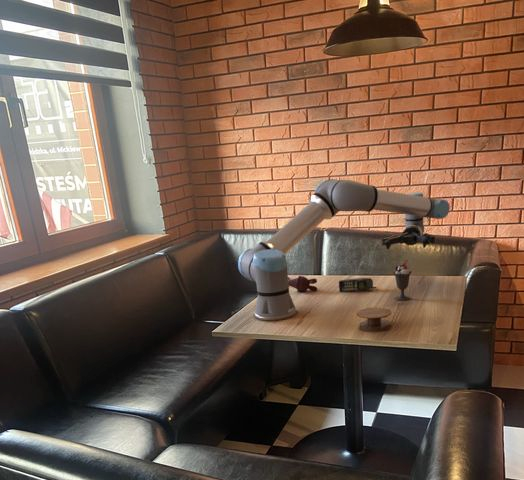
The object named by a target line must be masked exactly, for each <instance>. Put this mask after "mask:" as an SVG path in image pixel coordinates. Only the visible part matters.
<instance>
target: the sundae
mask: <svg viewBox="0 0 524 480" xmlns="http://www.w3.org/2000/svg"><path fill="white" fill-rule="evenodd" d="M407 262H408V259H405V261H404V262H403V263H402V264H400V265H398V266H397V265H396V266H395V271H393V272H392V273H393V275H394V278H395V283H396V287H397V289H399V290H400V295H399V296H397V297H396V298H395V300H396V301H398V302H399V301H401V302H402V301H403V302H404V301H408V300H410V297H409V296H406V295H405V290H406V289H407V288H408V286H409V281H410V276H411V274H412V273H413V271H412V270H411V271H410V270H409V268H408V266H407V265H406V263H407Z"/></svg>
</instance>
